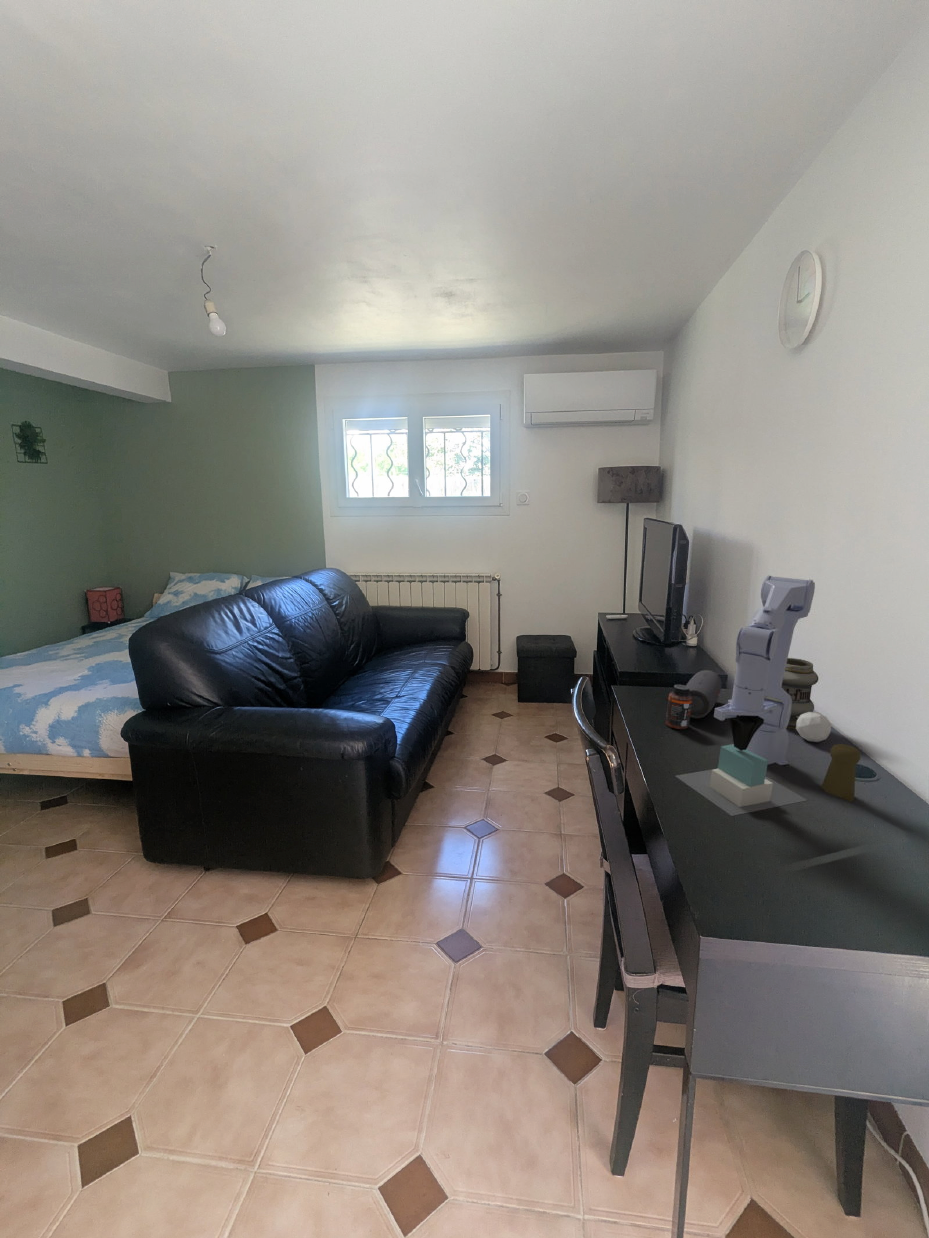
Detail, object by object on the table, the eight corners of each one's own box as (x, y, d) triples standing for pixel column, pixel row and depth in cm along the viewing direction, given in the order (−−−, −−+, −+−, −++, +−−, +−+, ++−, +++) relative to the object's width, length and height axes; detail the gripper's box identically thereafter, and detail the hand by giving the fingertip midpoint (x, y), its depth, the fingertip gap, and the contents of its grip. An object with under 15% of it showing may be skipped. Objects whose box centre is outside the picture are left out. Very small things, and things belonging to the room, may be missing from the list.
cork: (848, 790, 117) (858, 743, 114) (858, 804, 111) (869, 755, 109) (816, 784, 119) (825, 738, 116) (824, 798, 113) (834, 750, 111)
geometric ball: (816, 749, 142) (842, 730, 139) (806, 746, 137) (833, 726, 134) (794, 726, 147) (819, 707, 144) (784, 722, 142) (809, 703, 139)
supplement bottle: (690, 731, 144) (695, 691, 142) (667, 728, 146) (672, 689, 143) (686, 722, 150) (691, 684, 148) (663, 720, 151) (668, 682, 149)
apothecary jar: (752, 715, 157) (761, 656, 153) (783, 712, 160) (794, 654, 157) (787, 732, 146) (798, 669, 142) (820, 728, 149) (832, 666, 145)
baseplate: (744, 767, 125) (744, 764, 125) (806, 803, 111) (807, 800, 111) (674, 779, 119) (674, 775, 119) (731, 819, 104) (731, 815, 104)
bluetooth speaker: (710, 726, 148) (715, 692, 146) (675, 718, 153) (679, 685, 151) (721, 702, 167) (725, 671, 165) (689, 695, 172) (693, 665, 170)
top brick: (731, 765, 116) (734, 743, 115) (764, 783, 109) (768, 760, 108) (717, 768, 114) (720, 746, 113) (750, 786, 107) (753, 763, 106)
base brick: (738, 781, 117) (741, 764, 116) (769, 800, 110) (773, 783, 109) (709, 786, 114) (712, 769, 114) (739, 807, 107) (742, 788, 106)
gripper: (760, 676, 114) (750, 736, 117) (706, 682, 110) (697, 743, 113) (789, 687, 108) (778, 750, 111) (733, 694, 103) (724, 759, 106)
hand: (739, 748), depth 111 cm, fingers closed
